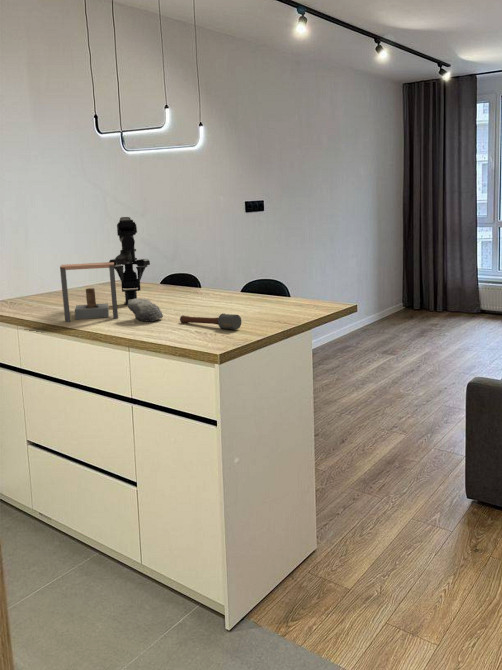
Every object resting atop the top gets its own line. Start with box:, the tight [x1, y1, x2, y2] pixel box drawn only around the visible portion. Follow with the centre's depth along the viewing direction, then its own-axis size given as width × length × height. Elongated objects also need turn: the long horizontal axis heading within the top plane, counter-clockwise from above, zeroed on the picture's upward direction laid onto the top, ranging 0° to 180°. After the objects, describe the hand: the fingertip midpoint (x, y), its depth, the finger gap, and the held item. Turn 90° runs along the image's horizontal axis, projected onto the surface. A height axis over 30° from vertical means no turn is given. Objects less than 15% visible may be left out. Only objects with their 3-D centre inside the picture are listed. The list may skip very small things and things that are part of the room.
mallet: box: [179, 313, 243, 330], centre depth 248 cm, size 6×6×30 cm
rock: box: [127, 298, 164, 323], centre depth 265 cm, size 11×17×10 cm, turn 44°
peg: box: [85, 287, 97, 308], centre depth 279 cm, size 4×4×12 cm
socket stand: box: [59, 261, 119, 323], centre depth 276 cm, size 19×22×24 cm
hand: (130, 281), depth 293 cm, fingers open, 9 cm apart
